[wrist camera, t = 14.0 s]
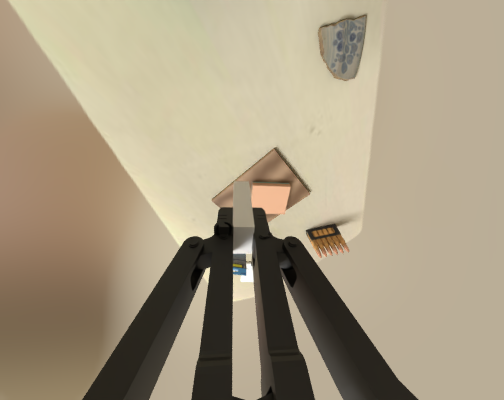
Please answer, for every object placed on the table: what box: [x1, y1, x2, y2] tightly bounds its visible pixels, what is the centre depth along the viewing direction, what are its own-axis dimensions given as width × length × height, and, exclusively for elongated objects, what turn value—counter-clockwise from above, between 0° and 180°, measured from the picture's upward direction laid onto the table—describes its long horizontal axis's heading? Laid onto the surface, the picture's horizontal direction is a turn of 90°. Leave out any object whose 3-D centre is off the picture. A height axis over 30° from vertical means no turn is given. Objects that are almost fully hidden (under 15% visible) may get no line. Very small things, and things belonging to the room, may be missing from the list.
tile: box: [251, 182, 291, 214], centre depth 56 cm, size 2×10×11 cm
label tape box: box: [233, 254, 247, 276], centre depth 65 cm, size 9×4×12 cm, turn 74°
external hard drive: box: [241, 262, 254, 282], centre depth 79 cm, size 2×8×12 cm
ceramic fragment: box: [318, 15, 366, 81], centre depth 38 cm, size 11×3×10 cm
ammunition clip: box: [306, 224, 349, 258], centre depth 63 cm, size 11×2×12 cm, turn 103°
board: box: [212, 149, 310, 222], centre depth 57 cm, size 19×24×1 cm
